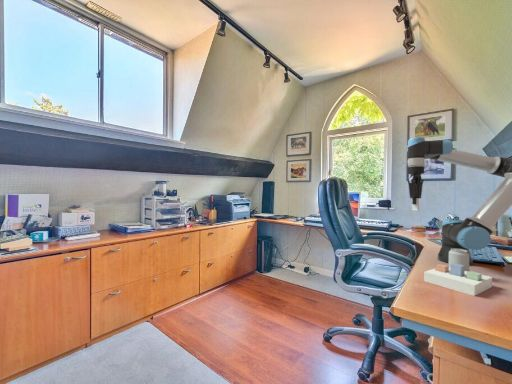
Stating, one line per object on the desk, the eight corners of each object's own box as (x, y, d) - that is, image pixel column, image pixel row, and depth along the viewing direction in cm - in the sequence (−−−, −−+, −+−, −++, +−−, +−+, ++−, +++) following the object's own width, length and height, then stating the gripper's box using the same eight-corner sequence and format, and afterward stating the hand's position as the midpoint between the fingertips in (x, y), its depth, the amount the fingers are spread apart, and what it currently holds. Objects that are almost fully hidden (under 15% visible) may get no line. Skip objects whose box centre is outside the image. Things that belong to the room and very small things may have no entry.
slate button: (453, 274, 104) (454, 263, 104) (464, 277, 101) (464, 265, 101) (450, 276, 103) (450, 264, 103) (460, 278, 99) (460, 266, 99)
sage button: (470, 283, 100) (470, 271, 100) (481, 286, 97) (481, 273, 97) (466, 284, 98) (466, 272, 98) (477, 287, 95) (478, 275, 95)
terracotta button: (439, 274, 109) (439, 263, 109) (448, 277, 106) (448, 266, 106) (435, 276, 107) (435, 264, 107) (444, 278, 104) (445, 267, 104)
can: (473, 278, 108) (473, 252, 108) (454, 277, 110) (454, 251, 110) (462, 273, 116) (463, 248, 116) (444, 271, 117) (445, 247, 117)
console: (443, 274, 114) (443, 265, 114) (491, 286, 99) (492, 277, 99) (424, 280, 105) (424, 271, 105) (474, 296, 90) (474, 285, 90)
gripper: (414, 167, 136) (413, 209, 136) (402, 166, 129) (401, 210, 129) (429, 166, 130) (428, 210, 130) (417, 165, 123) (417, 211, 123)
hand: (415, 210), depth 129 cm, fingers closed
